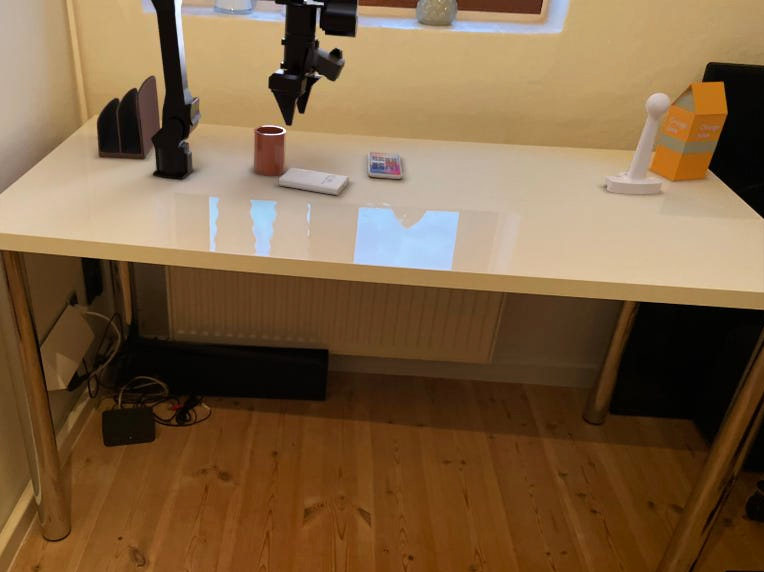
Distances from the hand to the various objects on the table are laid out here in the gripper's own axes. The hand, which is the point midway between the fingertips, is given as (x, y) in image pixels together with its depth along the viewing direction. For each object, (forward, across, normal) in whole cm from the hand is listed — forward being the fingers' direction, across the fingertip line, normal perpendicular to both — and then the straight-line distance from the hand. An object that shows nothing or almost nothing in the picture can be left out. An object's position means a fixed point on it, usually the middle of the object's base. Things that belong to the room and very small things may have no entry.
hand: (295, 119), depth 143 cm
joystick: (+12, +25, -68) cm, 73 cm away
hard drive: (+13, +1, -4) cm, 14 cm away
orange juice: (+12, +40, -80) cm, 90 cm away
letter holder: (+14, +11, +41) cm, 44 cm away
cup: (+13, +6, +7) cm, 16 cm away
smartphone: (+13, +18, -16) cm, 27 cm away
